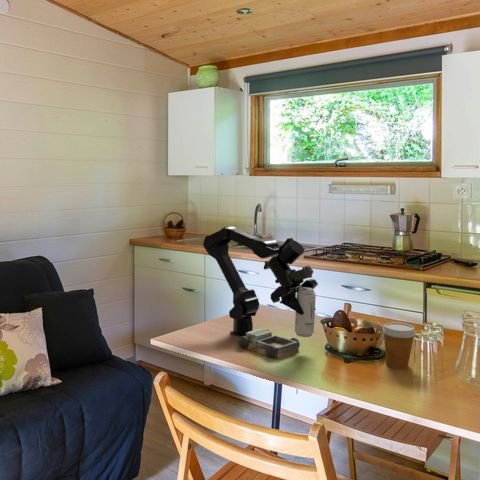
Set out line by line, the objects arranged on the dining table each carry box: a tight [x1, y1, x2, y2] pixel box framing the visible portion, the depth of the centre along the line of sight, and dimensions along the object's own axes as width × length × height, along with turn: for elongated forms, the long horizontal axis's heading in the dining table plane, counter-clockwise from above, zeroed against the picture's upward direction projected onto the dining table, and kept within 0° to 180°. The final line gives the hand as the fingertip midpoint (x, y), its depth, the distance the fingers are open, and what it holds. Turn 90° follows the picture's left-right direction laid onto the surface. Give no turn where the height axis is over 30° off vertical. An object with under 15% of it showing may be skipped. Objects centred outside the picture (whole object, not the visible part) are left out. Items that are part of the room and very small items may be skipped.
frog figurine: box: [376, 332, 385, 349], centre depth 176 cm, size 6×7×7 cm
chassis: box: [237, 328, 301, 360], centre depth 174 cm, size 17×12×4 cm
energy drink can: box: [294, 287, 317, 338], centre depth 170 cm, size 6×6×15 cm
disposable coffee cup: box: [382, 322, 416, 370], centre depth 161 cm, size 10×10×12 cm
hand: (308, 312), depth 169 cm, fingers closed on energy drink can, 6 cm apart
